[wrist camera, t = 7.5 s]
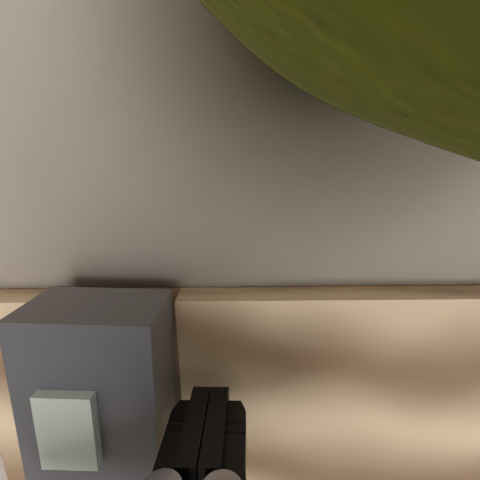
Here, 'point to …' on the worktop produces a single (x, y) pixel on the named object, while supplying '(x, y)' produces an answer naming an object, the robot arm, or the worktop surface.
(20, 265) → the worktop surface
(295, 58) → the flower pot
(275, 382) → the subfloor panel
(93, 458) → the block
